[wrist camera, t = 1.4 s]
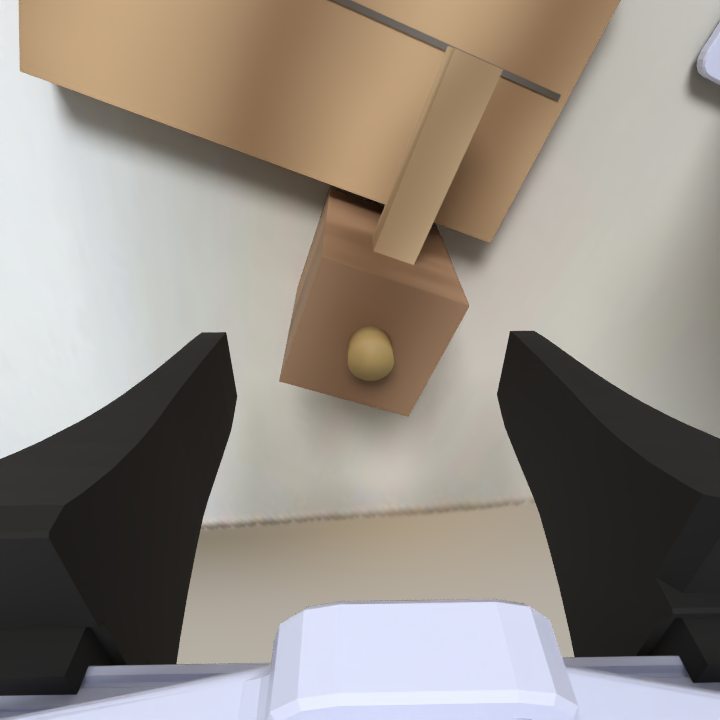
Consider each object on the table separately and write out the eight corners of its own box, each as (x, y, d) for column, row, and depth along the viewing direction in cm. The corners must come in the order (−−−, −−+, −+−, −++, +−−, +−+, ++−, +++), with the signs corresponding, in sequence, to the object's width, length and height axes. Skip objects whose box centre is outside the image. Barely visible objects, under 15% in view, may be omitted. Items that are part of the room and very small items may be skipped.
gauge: (505, 74, 15) (597, 109, 10) (394, 317, 20) (411, 434, 14) (384, 20, 14) (406, 22, 9) (297, 287, 19) (275, 399, 13)
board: (619, -42, 14) (647, -48, 12) (480, 227, 18) (490, 243, 16) (51, -345, 11) (10, -394, 9) (47, 66, 15) (18, 71, 13)
